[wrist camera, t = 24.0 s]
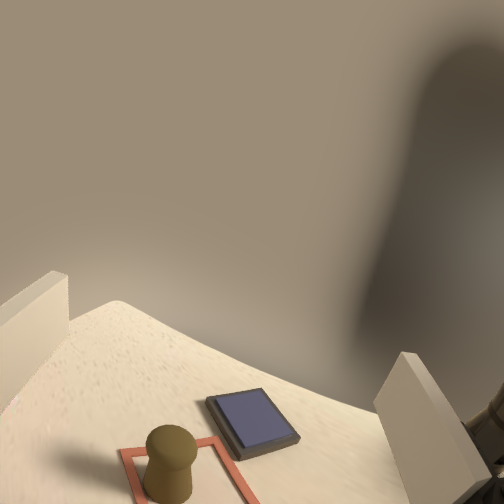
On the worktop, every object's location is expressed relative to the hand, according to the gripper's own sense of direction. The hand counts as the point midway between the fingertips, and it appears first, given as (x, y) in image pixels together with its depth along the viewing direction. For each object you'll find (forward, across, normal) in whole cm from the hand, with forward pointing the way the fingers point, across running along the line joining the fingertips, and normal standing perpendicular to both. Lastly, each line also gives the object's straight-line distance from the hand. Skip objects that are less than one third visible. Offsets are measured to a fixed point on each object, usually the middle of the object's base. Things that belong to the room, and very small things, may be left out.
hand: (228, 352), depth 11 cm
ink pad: (+24, +7, -30) cm, 39 cm away
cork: (+10, -2, -30) cm, 32 cm away
